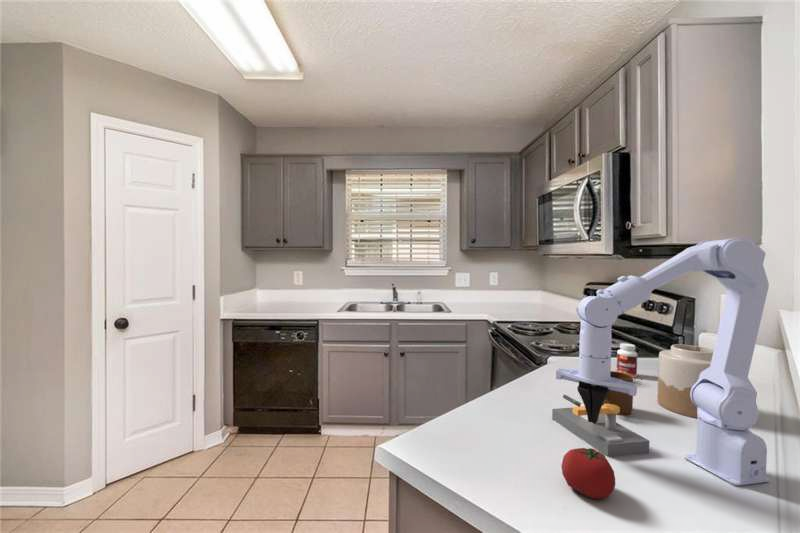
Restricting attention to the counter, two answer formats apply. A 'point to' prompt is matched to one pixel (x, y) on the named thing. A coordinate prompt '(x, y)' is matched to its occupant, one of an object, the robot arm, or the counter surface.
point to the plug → (601, 416)
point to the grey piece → (602, 433)
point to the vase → (681, 376)
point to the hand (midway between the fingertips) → (592, 421)
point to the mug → (620, 395)
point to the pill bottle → (627, 360)
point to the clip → (604, 410)
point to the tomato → (588, 472)
